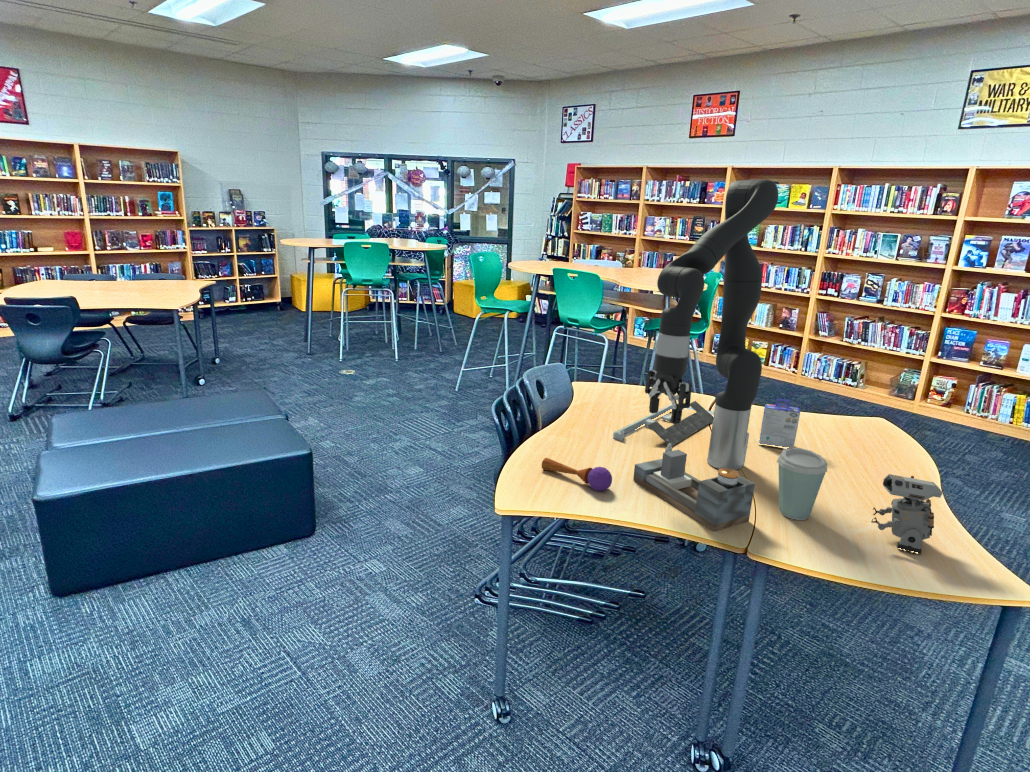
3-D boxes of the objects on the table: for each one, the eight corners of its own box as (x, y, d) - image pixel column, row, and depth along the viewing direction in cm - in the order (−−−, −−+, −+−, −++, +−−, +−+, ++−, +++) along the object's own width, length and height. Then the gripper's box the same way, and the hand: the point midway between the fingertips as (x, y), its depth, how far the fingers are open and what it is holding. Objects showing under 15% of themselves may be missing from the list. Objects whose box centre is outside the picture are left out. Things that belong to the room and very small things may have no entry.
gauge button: (726, 480, 141) (728, 466, 140) (741, 488, 137) (743, 474, 136) (712, 484, 139) (714, 469, 138) (727, 492, 135) (729, 477, 134)
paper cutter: (612, 439, 187) (614, 422, 186) (677, 406, 220) (679, 392, 219) (667, 456, 176) (669, 438, 175) (726, 419, 210) (729, 403, 208)
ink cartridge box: (792, 445, 188) (801, 400, 183) (794, 451, 183) (802, 405, 178) (758, 439, 191) (765, 395, 187) (758, 446, 186) (766, 400, 182)
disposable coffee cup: (828, 522, 141) (840, 462, 137) (789, 528, 138) (801, 466, 134) (795, 501, 151) (806, 445, 147) (758, 506, 148) (768, 448, 144)
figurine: (866, 525, 141) (880, 465, 137) (925, 539, 136) (942, 477, 131) (866, 542, 133) (881, 479, 129) (928, 558, 128) (946, 493, 124)
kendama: (553, 451, 165) (617, 468, 153) (550, 473, 166) (615, 491, 153) (539, 453, 161) (605, 471, 148) (537, 476, 161) (602, 495, 149)
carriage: (671, 475, 159) (675, 446, 156) (690, 486, 153) (694, 456, 150) (652, 479, 156) (655, 450, 153) (671, 490, 150) (675, 460, 147)
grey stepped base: (665, 473, 164) (669, 440, 161) (748, 521, 140) (755, 483, 138) (633, 480, 159) (636, 446, 156) (713, 531, 135) (719, 492, 133)
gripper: (705, 358, 140) (695, 426, 145) (666, 346, 153) (658, 408, 157) (678, 360, 137) (669, 428, 141) (641, 347, 150) (634, 410, 154)
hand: (664, 417), depth 149 cm, fingers open, 8 cm apart
